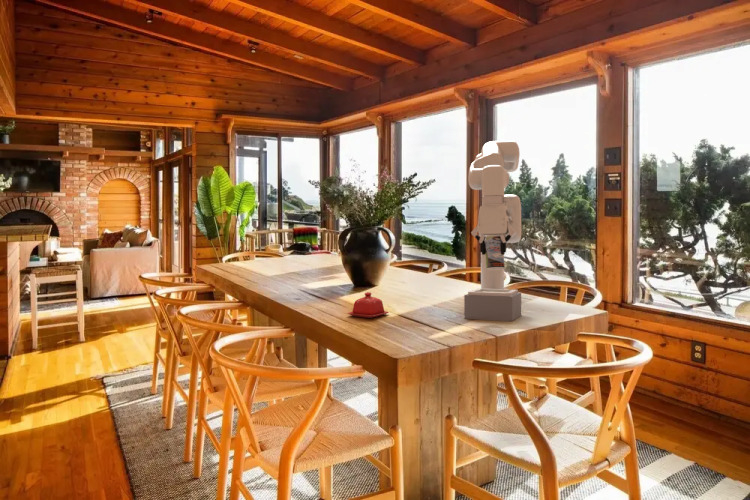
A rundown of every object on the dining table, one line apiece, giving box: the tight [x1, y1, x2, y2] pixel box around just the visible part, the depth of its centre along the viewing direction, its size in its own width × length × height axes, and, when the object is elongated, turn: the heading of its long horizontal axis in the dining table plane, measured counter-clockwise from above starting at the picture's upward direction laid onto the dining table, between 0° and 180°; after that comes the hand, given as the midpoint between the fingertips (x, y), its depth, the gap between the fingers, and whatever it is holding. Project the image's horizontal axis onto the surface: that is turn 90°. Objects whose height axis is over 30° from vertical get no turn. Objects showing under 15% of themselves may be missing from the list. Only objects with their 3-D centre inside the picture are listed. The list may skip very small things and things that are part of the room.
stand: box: [463, 288, 522, 322], centre depth 189 cm, size 16×16×9 cm
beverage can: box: [485, 236, 505, 270], centre depth 189 cm, size 6×7×12 cm
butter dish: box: [347, 292, 390, 319], centre depth 195 cm, size 12×12×8 cm
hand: (493, 254), depth 189 cm, fingers closed on beverage can, 5 cm apart
